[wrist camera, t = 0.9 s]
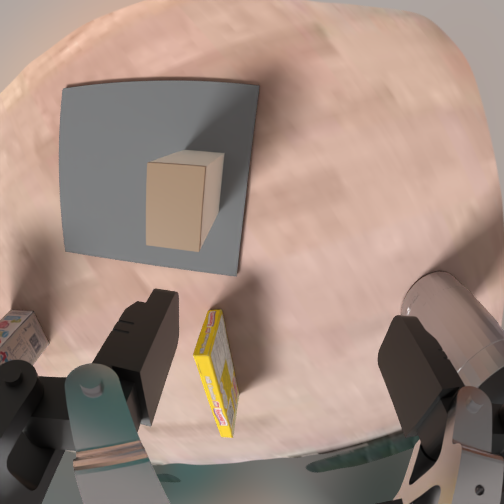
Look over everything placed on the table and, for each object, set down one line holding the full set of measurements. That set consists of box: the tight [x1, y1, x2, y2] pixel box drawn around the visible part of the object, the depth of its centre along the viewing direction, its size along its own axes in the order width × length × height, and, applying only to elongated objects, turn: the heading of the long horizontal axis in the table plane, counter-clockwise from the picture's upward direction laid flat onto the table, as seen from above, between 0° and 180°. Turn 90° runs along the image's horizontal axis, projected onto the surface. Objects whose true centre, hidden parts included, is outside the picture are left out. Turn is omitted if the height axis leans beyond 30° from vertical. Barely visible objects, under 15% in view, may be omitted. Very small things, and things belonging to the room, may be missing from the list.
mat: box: [59, 81, 259, 276], centre depth 29 cm, size 22×20×1 cm
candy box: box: [193, 309, 239, 438], centre depth 35 cm, size 16×2×8 cm, turn 6°
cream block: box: [146, 150, 225, 252], centre depth 25 cm, size 4×6×10 cm, turn 173°
